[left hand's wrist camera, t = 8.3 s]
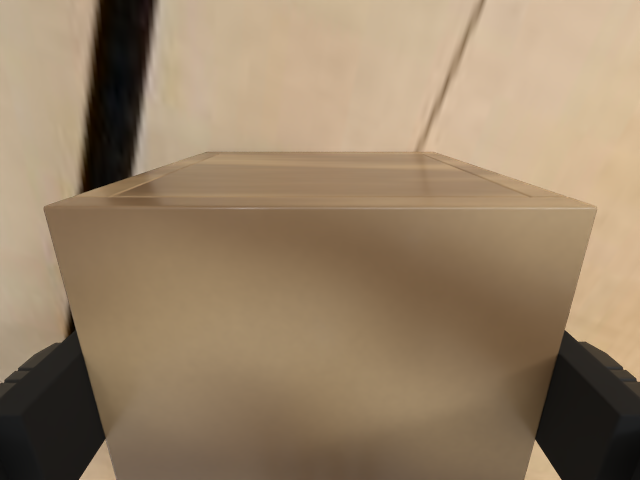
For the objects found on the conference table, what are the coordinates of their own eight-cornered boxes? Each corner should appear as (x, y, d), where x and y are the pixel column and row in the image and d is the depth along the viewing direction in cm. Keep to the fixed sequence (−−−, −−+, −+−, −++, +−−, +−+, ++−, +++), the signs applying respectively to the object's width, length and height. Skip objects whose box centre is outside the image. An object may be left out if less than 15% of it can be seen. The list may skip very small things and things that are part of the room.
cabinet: (407, 409, 23) (479, 650, 13) (232, 409, 23) (161, 650, 13) (435, 151, 17) (599, 206, 7) (205, 151, 17) (41, 206, 7)
